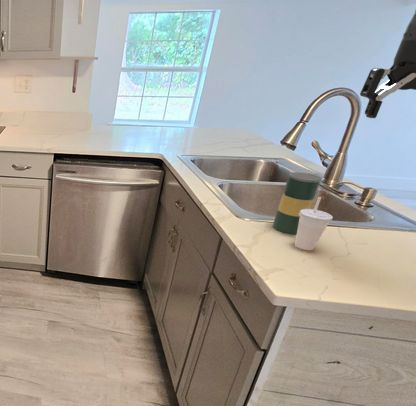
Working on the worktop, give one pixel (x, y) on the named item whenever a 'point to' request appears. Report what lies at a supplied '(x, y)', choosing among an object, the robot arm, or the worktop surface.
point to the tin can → (295, 200)
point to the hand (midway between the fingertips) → (395, 118)
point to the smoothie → (311, 227)
